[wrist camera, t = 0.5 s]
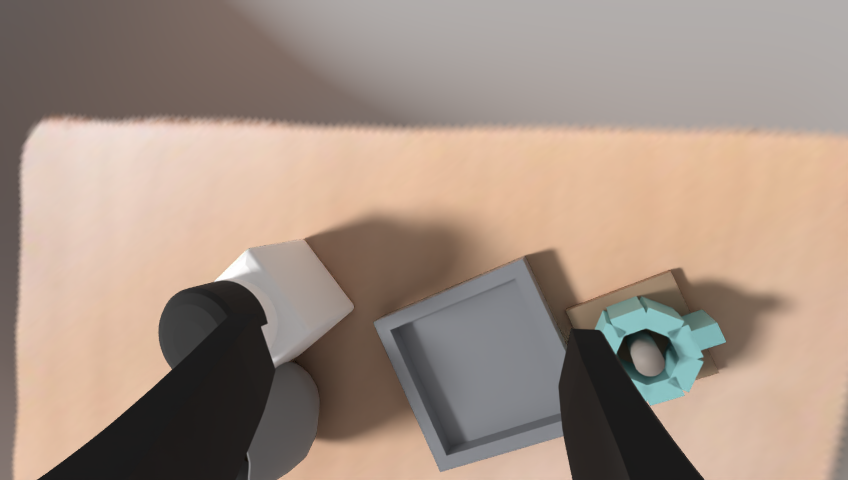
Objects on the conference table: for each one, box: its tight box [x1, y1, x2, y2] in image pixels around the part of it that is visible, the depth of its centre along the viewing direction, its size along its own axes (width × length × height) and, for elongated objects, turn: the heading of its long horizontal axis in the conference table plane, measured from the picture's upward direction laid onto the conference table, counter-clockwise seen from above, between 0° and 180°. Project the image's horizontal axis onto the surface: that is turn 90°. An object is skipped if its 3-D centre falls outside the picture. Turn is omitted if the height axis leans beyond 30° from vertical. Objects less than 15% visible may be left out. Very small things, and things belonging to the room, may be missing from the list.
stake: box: [566, 270, 719, 380], centre depth 30 cm, size 7×7×5 cm
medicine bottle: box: [159, 239, 354, 369], centre depth 33 cm, size 7×7×12 cm
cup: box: [236, 361, 320, 480], centre depth 36 cm, size 10×9×10 cm
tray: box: [373, 256, 567, 472], centre depth 34 cm, size 12×12×2 cm
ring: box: [595, 296, 726, 406], centre depth 29 cm, size 7×6×3 cm
